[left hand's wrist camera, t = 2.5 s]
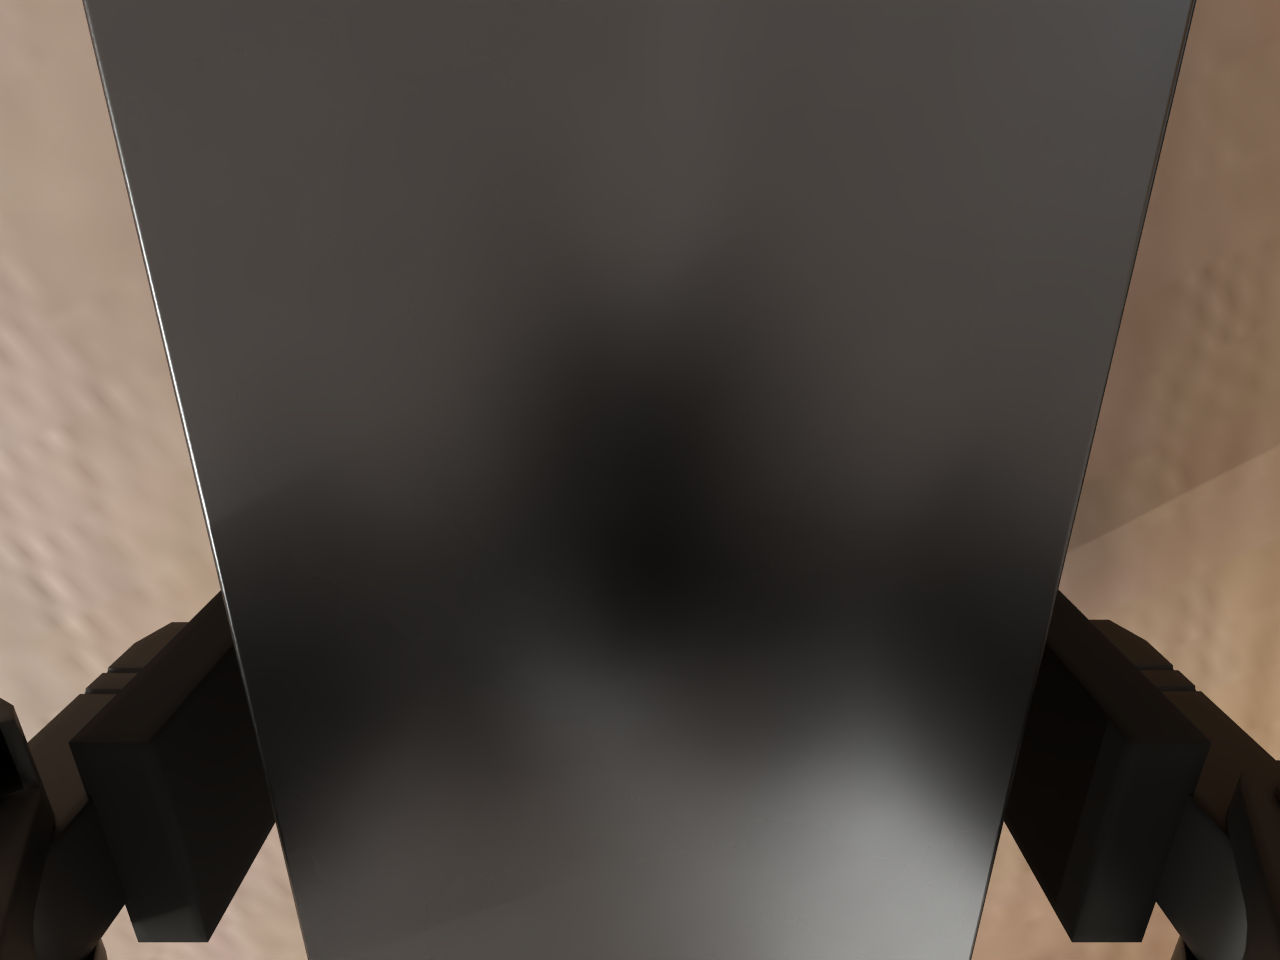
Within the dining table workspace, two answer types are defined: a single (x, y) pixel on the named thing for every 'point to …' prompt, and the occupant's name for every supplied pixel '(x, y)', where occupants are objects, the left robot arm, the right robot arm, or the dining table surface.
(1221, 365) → the dining table surface
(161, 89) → the bar
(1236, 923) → the left robot arm
